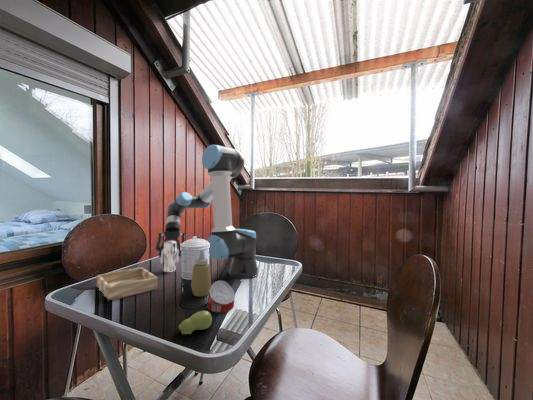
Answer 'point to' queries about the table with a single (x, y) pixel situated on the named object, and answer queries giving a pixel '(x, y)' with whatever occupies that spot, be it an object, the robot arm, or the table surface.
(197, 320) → the pear
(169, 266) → the beer glass
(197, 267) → the squeeze bottle
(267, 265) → the table surface
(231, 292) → the canned food
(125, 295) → the crate
